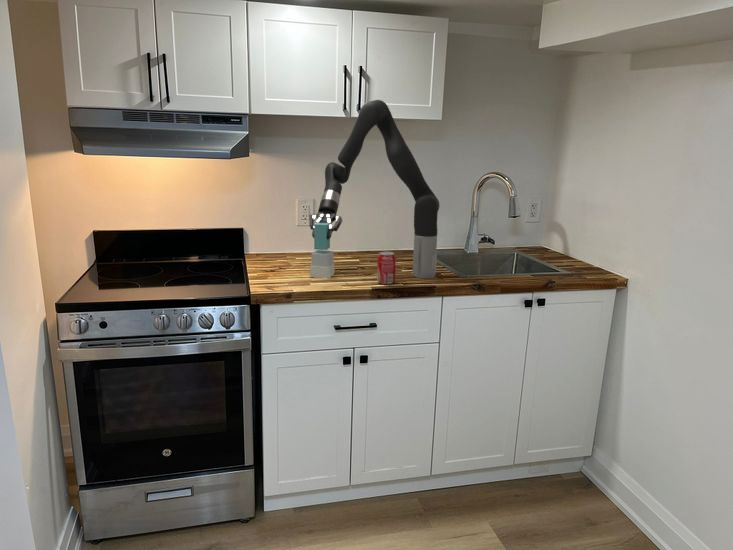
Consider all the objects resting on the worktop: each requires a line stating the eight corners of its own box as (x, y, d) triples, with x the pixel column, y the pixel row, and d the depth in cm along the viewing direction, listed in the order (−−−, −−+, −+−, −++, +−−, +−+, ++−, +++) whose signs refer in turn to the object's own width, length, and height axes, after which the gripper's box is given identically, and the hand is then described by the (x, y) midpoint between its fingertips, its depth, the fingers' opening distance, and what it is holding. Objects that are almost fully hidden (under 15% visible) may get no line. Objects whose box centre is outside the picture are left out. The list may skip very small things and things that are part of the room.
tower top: (333, 263, 224) (333, 251, 222) (327, 267, 217) (327, 254, 216) (317, 261, 226) (317, 249, 224) (311, 265, 219) (311, 253, 218)
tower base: (334, 274, 226) (334, 262, 224) (328, 279, 218) (329, 267, 217) (315, 273, 227) (315, 261, 226) (309, 278, 220) (309, 266, 218)
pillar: (330, 247, 222) (329, 223, 219) (326, 250, 217) (326, 225, 214) (318, 246, 223) (318, 222, 220) (314, 249, 218) (314, 224, 215)
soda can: (384, 279, 219) (385, 250, 216) (398, 282, 215) (399, 253, 212) (373, 283, 214) (373, 253, 211) (387, 286, 209) (388, 255, 206)
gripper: (310, 197, 223) (301, 231, 215) (344, 198, 220) (336, 233, 212) (314, 208, 230) (305, 242, 221) (347, 210, 227) (340, 244, 218)
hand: (320, 237), depth 217 cm, fingers closed on pillar, 5 cm apart
